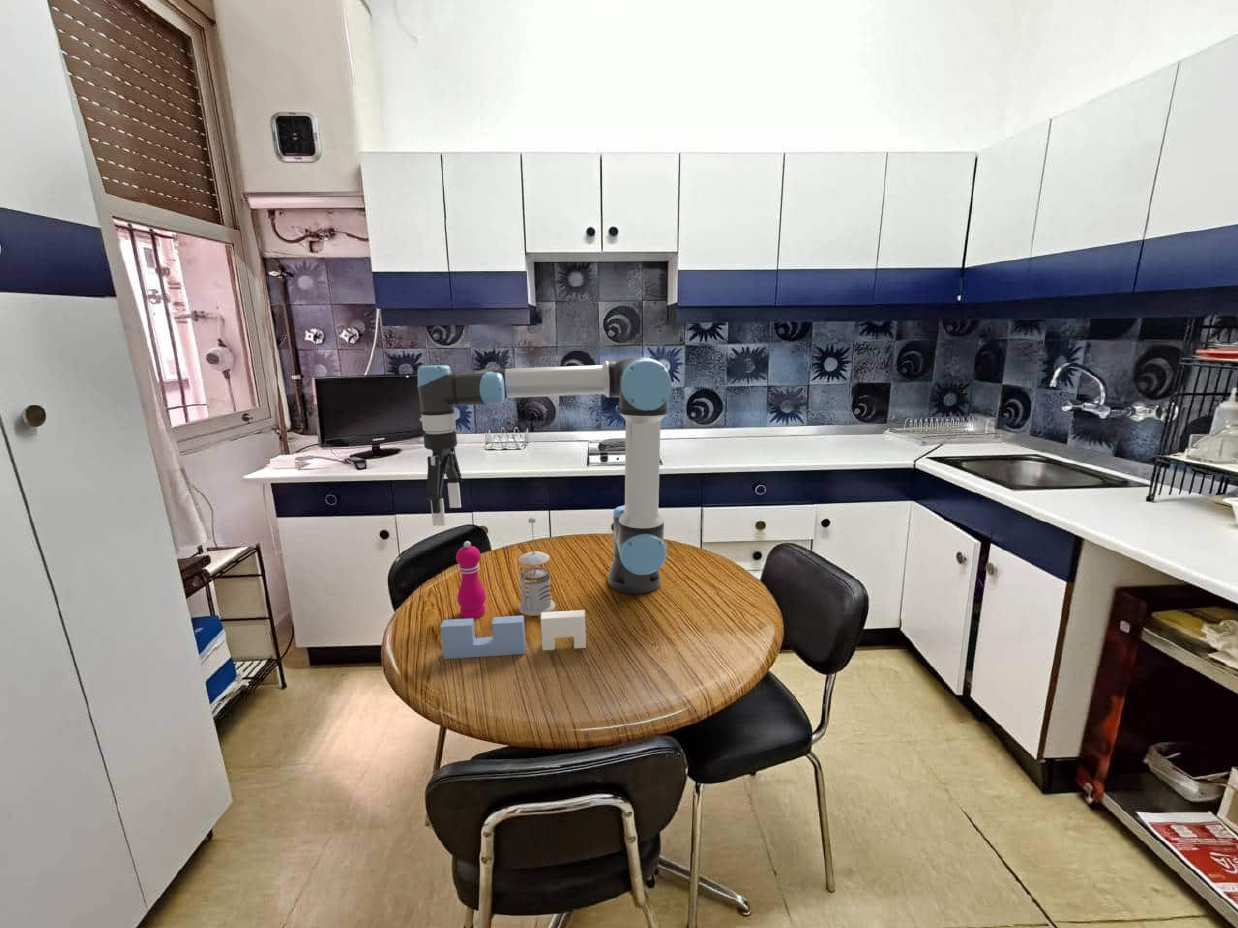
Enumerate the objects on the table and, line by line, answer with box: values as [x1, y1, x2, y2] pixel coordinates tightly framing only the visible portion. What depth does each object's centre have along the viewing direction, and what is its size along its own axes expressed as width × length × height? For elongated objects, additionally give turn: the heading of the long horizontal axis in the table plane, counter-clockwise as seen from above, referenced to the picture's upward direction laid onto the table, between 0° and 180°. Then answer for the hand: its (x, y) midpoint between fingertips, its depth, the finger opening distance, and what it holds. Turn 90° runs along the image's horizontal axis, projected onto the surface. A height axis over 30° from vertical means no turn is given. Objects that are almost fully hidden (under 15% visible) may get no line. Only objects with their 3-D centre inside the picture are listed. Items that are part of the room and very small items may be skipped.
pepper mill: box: [455, 540, 487, 619], centre depth 140 cm, size 7×7×20 cm
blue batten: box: [440, 614, 527, 660], centre depth 123 cm, size 18×3×8 cm, turn 95°
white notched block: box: [540, 609, 587, 651], centre depth 126 cm, size 10×3×8 cm, turn 95°
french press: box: [517, 516, 556, 617], centre depth 142 cm, size 10×12×25 cm
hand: (447, 515), depth 135 cm, fingers open, 13 cm apart
